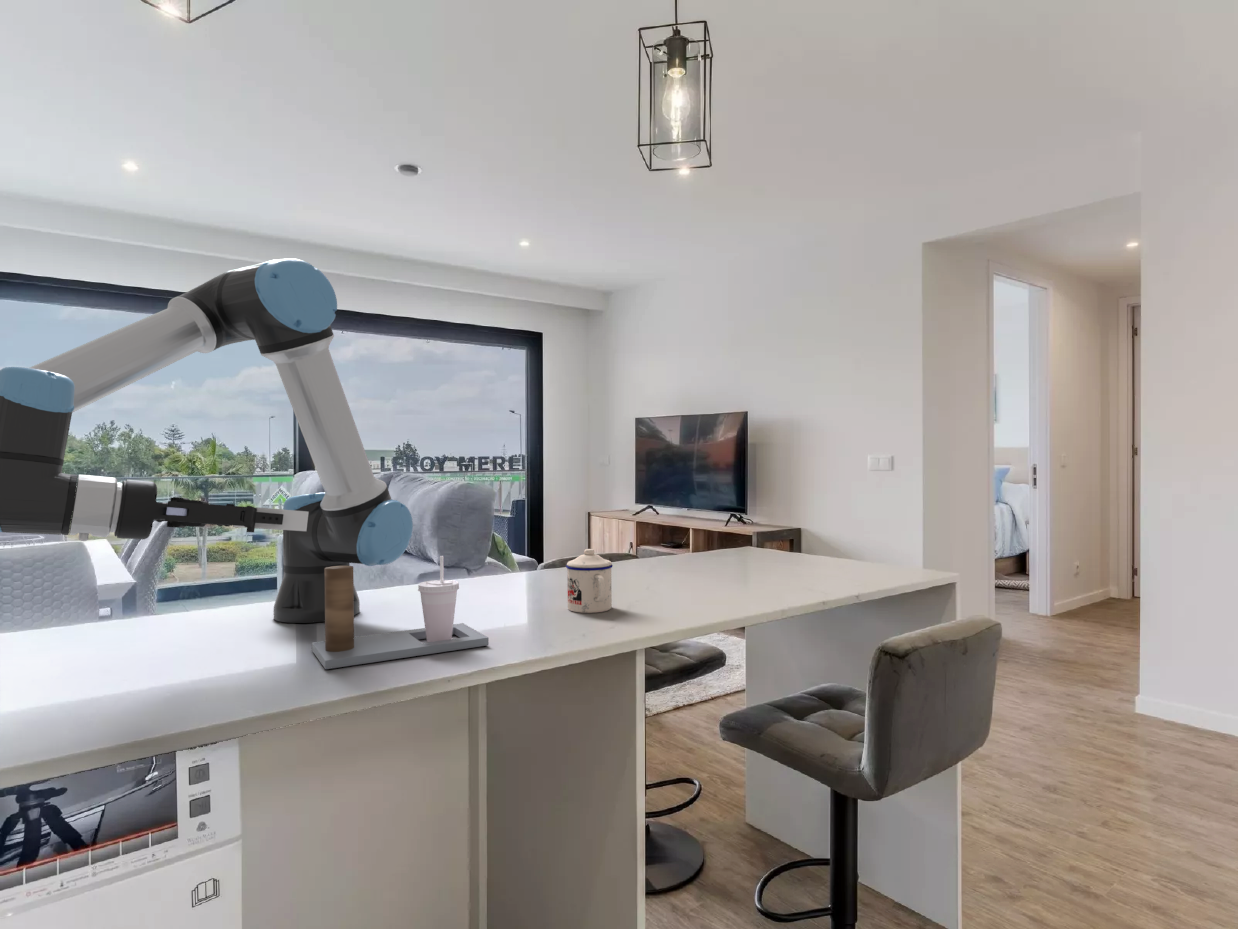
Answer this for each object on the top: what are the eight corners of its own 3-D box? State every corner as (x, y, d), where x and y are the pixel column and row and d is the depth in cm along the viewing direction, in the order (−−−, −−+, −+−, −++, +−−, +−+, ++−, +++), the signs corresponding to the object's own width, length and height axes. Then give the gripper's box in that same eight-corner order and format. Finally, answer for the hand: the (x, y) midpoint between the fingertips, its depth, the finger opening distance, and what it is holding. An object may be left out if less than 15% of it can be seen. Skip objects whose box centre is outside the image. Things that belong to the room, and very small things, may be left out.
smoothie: (449, 649, 111) (448, 559, 111) (410, 647, 112) (410, 558, 112) (466, 639, 117) (465, 553, 117) (429, 637, 118) (429, 553, 118)
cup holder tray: (311, 650, 110) (311, 564, 110) (463, 630, 123) (462, 553, 123) (325, 669, 100) (324, 574, 100) (488, 645, 113) (487, 561, 113)
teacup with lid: (560, 606, 143) (559, 548, 143) (602, 602, 147) (602, 545, 147) (580, 618, 132) (580, 555, 132) (626, 614, 136) (625, 552, 136)
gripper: (106, 535, 100) (270, 544, 113) (118, 540, 81) (315, 550, 94) (114, 482, 101) (276, 497, 114) (128, 474, 82) (321, 493, 95)
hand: (294, 521), depth 104 cm, fingers open, 13 cm apart
